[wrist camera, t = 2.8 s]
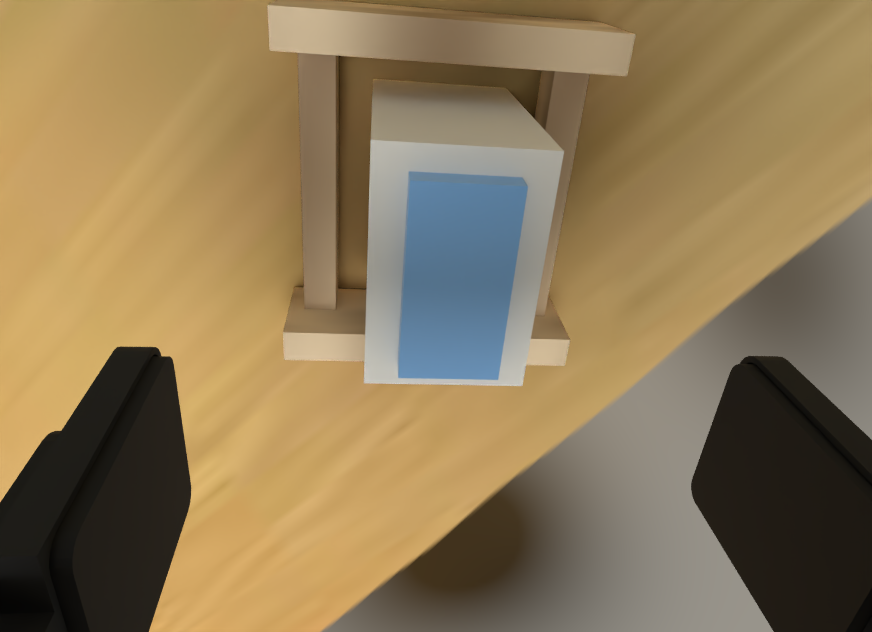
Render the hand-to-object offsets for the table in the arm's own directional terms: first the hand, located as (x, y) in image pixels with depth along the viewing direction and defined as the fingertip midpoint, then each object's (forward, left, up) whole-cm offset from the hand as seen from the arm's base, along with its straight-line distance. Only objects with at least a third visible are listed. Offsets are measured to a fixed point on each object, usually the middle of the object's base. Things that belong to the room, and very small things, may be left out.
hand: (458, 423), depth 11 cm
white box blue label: (0, 0, -12) cm, 12 cm away
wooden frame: (0, 0, -12) cm, 12 cm away
